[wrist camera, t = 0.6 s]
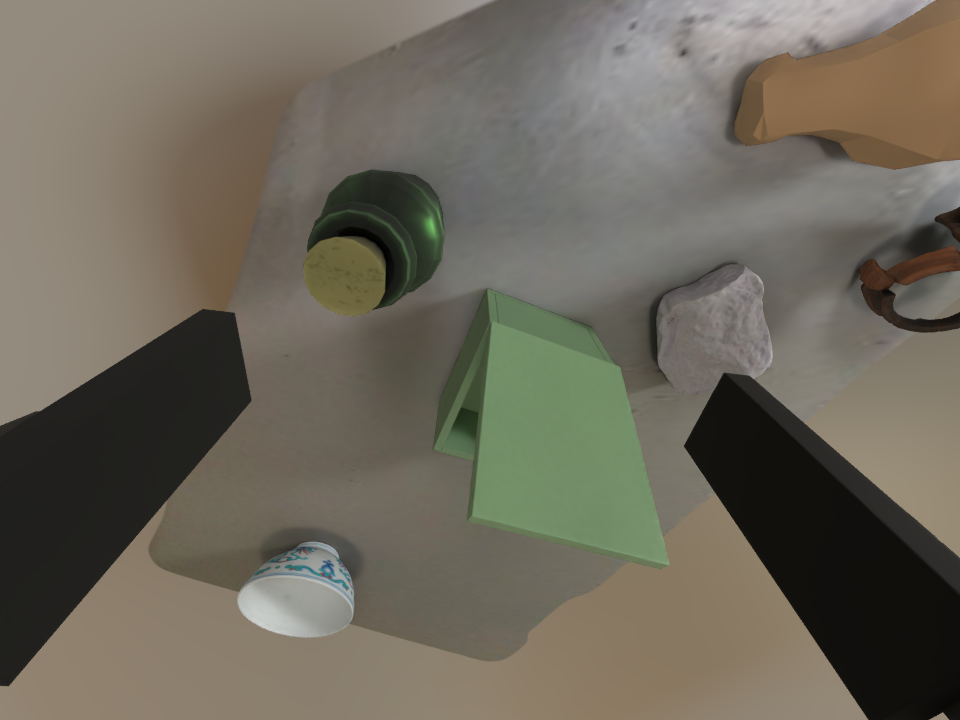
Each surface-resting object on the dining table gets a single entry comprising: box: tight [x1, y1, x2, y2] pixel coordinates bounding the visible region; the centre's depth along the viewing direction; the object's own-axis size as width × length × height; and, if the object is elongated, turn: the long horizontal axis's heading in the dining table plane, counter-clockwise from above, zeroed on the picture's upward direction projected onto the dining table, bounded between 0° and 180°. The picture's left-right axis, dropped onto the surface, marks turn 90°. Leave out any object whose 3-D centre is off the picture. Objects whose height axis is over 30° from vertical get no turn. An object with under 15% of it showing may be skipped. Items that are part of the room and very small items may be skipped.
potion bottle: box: [303, 170, 444, 316], centre depth 26 cm, size 8×8×18 cm
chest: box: [433, 289, 614, 461], centre depth 38 cm, size 15×12×8 cm
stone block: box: [656, 264, 773, 394], centre depth 38 cm, size 12×5×10 cm
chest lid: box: [467, 321, 669, 569], centre depth 26 cm, size 15×12×1 cm
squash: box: [734, 0, 960, 170], centre depth 26 cm, size 11×20×9 cm, turn 99°
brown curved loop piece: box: [859, 207, 960, 333], centre depth 33 cm, size 12×10×8 cm
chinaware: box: [237, 542, 354, 638], centre depth 55 cm, size 15×15×8 cm
